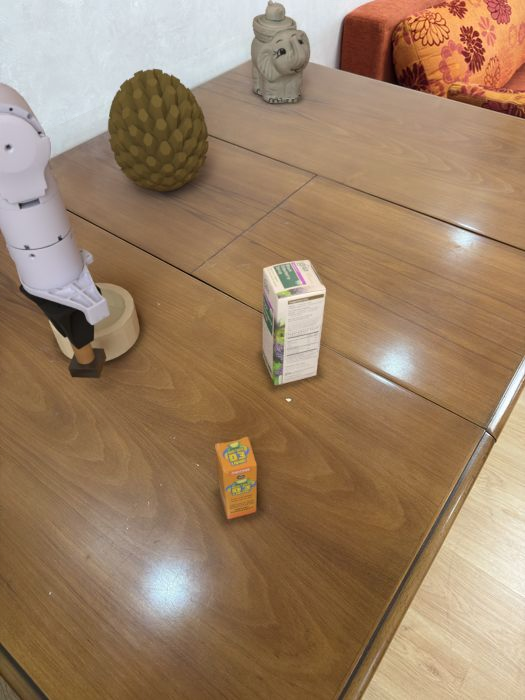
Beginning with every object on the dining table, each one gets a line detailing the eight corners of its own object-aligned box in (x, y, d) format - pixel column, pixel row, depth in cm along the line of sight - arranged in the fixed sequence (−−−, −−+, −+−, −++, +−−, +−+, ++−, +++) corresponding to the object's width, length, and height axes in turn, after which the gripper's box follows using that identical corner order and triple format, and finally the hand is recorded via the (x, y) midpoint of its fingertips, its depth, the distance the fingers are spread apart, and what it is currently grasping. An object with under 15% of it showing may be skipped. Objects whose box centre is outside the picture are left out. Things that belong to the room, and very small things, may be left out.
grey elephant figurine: (302, 115, 120) (306, 20, 106) (238, 108, 123) (234, 14, 109) (317, 87, 131) (323, -3, 117) (258, 81, 134) (257, -7, 120)
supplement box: (227, 523, 54) (220, 472, 47) (219, 493, 56) (212, 440, 49) (258, 514, 55) (257, 463, 47) (250, 485, 57) (247, 432, 50)
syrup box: (261, 354, 70) (259, 266, 59) (303, 344, 71) (309, 256, 61) (274, 387, 66) (275, 299, 56) (319, 376, 67) (328, 287, 57)
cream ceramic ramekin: (41, 349, 71) (30, 325, 68) (89, 299, 78) (82, 275, 74) (110, 373, 68) (102, 348, 65) (154, 318, 75) (149, 294, 72)
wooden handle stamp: (71, 377, 60) (47, 319, 54) (79, 356, 63) (57, 298, 56) (99, 378, 60) (78, 320, 54) (106, 357, 62) (87, 299, 56)
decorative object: (215, 163, 105) (207, 53, 90) (207, 211, 93) (195, 92, 79) (130, 163, 105) (108, 52, 91) (111, 210, 94) (82, 92, 79)
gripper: (123, 244, 46) (149, 350, 56) (35, 185, 53) (72, 290, 63) (52, 282, 43) (92, 389, 53) (-33, 214, 50) (17, 320, 60)
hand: (78, 337), depth 58 cm, fingers closed on wooden handle stamp, 2 cm apart
